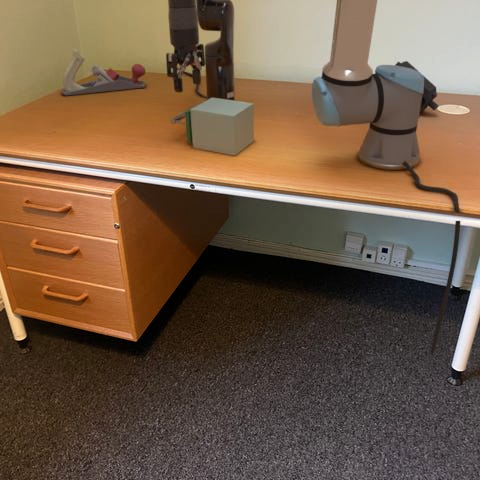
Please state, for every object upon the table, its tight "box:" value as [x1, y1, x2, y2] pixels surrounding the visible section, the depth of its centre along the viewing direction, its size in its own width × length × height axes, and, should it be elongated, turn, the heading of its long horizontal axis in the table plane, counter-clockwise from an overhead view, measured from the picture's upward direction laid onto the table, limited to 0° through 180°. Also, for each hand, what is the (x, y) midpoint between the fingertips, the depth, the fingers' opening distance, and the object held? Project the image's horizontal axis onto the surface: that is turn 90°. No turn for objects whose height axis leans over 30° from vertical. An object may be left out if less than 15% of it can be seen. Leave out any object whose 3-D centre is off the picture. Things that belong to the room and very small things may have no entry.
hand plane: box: [61, 48, 146, 96], centre depth 194 cm, size 7×31×15 cm, turn 107°
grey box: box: [189, 98, 255, 156], centre depth 147 cm, size 13×12×11 cm
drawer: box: [169, 100, 206, 144], centre depth 149 cm, size 18×10×9 cm, turn 62°
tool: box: [394, 60, 439, 114], centre depth 169 cm, size 6×19×15 cm, turn 51°
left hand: (188, 87), depth 146 cm, fingers open, 8 cm apart
